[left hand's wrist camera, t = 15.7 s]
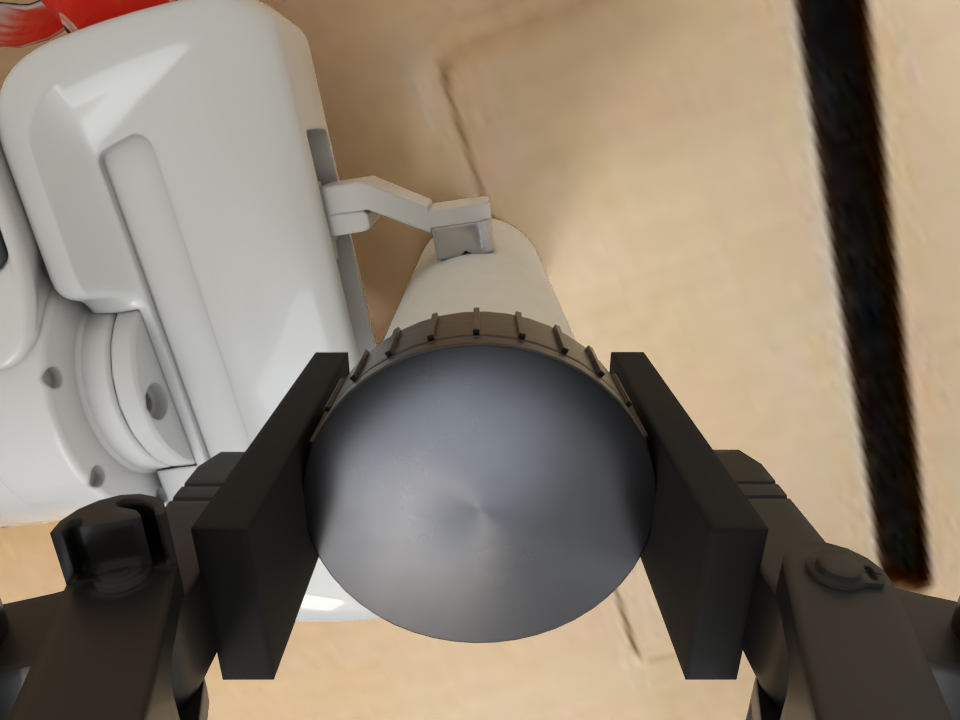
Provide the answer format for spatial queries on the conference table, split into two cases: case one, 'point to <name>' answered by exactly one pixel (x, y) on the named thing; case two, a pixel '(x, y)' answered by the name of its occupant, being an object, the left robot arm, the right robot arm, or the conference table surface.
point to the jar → (482, 284)
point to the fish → (59, 17)
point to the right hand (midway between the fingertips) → (506, 325)
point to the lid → (479, 479)
